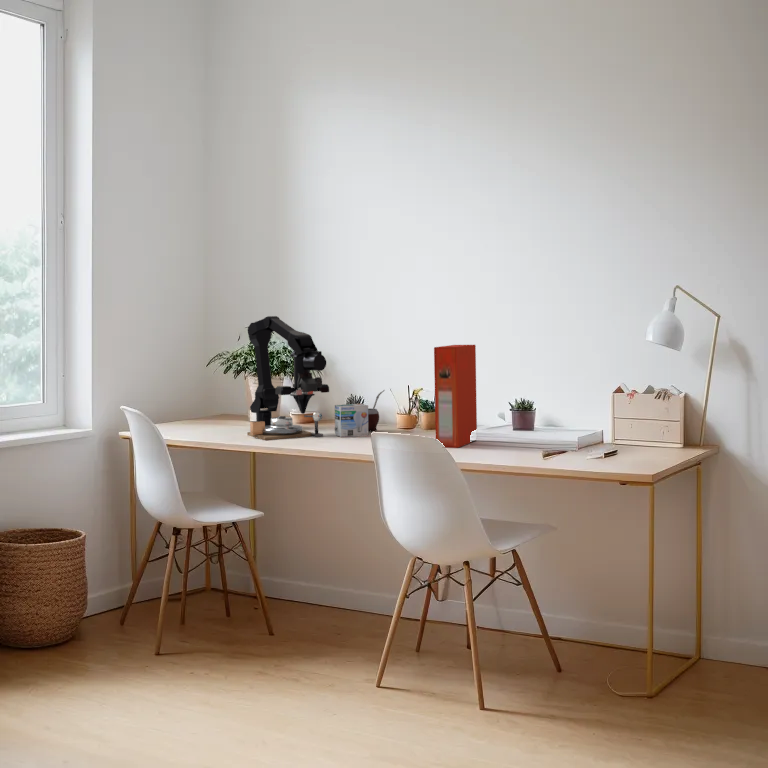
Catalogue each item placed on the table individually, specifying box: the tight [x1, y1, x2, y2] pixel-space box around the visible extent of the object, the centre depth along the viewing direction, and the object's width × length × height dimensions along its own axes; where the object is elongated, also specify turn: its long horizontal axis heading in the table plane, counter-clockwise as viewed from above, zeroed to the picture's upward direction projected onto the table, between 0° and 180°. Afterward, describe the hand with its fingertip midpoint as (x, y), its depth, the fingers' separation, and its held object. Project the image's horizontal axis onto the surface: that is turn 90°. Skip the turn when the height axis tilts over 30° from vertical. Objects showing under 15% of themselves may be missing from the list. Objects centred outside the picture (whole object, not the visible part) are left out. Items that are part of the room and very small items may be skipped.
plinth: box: [247, 429, 314, 441], centre depth 350 cm, size 16×19×1 cm
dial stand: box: [303, 411, 324, 438], centre depth 347 cm, size 5×5×9 cm
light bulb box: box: [334, 403, 369, 438], centre depth 348 cm, size 11×7×11 cm, turn 112°
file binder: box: [433, 344, 478, 449], centre depth 323 cm, size 8×17×32 cm, turn 155°
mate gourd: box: [368, 389, 386, 433], centre depth 359 cm, size 8×8×15 cm
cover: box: [270, 415, 295, 429], centre depth 350 cm, size 8×8×4 cm
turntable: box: [249, 421, 303, 435], centre depth 349 cm, size 15×18×4 cm
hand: (302, 413), depth 354 cm, fingers closed
